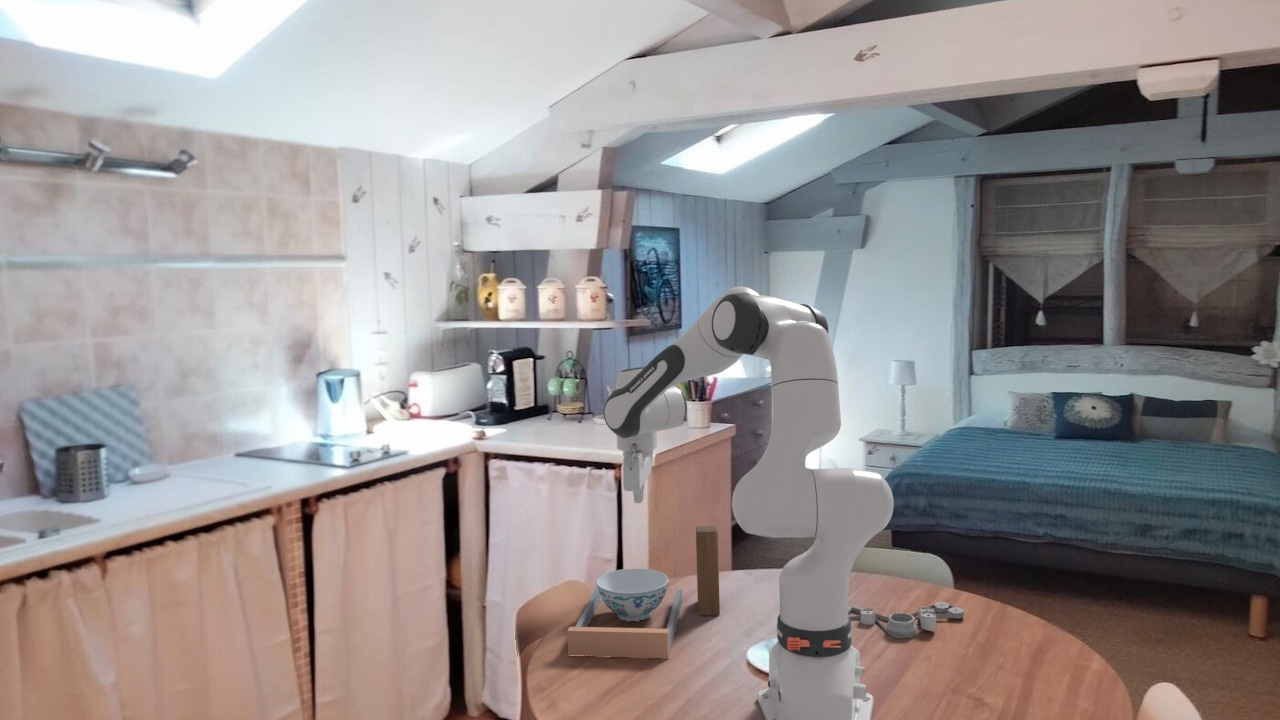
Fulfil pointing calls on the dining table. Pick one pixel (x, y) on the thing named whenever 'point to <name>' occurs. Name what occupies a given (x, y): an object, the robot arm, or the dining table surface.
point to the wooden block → (707, 570)
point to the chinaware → (632, 592)
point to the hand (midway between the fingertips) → (638, 501)
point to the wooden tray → (621, 635)
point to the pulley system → (908, 619)
